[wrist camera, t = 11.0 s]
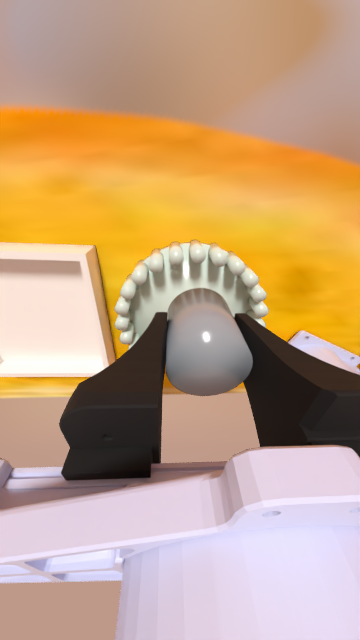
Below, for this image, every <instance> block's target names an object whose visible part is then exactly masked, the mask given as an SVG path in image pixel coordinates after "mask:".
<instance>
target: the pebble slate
mask: <svg viewBox="0 0 360 640" xmlns="http://www.w3.org/2000/svg"><path fill="white" fill-rule="evenodd" d="M252 364H253V358H252V354H251V352H250V350H249V348H248V346H247V344H246V342H245V340H244V338H243V335H242V333H241V331H240V329H239V327H238V325H237V323H236V321H235V319H234V317H233V315H232V313H231V311H230V309H229V307H228V305H227V303H226V301H225V299H224V298H223V297H222V296H221V295H220V294H219V293H217V292H215V291H213V290H211V289H207V288H193V289H189V290H187V291H184V292H182V293H181V294H179V295H178V296H177V297H176V298H174V300H173V301H172V302H171V304H170V305H169V308H168V311H167V339H166V374H167V377H168V379H169V381H170V382H171V383H172V385H173V386H175V387H176V388H177V389H179V390H180V391H182V392H185V393H188V394H191V395H198V396H210V395H217V394H221V393H224V392H227V391H229V390H231V389H233V388H235V387H237V386H238V385H239V384H241V383H242V382H243V381H244V380H245V379H246V378H247V376H248V375H249V373H250V371H251V369H252Z"/></svg>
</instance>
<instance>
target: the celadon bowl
mask: <svg viewBox="0 0 360 640" xmlns="http://www.w3.org/2000/svg"><path fill="white" fill-rule="evenodd" d="M258 282H259V278H258V276H257V275H256V274H255V273H254V272H253V271H252V270H251V269H250V268H249V267H248V266H247V265H246V264H245V263H243V262H242V261H241V260H240V258H239V257H238V256H237V255H236V254H235V253H234V252H232V251H228V252H227V251H225V250H224V249H221V248H220V247H219V245H218V244H216V243H211V244H206V243H200V242H199V241H198V240H191V241H190V242H187V243H179V242H176V241H175V242H172V243H171V244H170V245H169V246H167V247H164V248H162V249H154V250H153V251H152V253H151V255H150V256H148V257H147V258H146V259H144V260H140V261H138V262H137V265H136V267H135V269H134V271H133V273H132V274H129V275H128V276H127V278H126V280H125V282H124V285H123V287H122V289H121V292H120V294H121V295H120V297H119V300H118V302H117V304H116V306H115V311H116V313H118V314H119V315H118V317H117V320H116V322H115V327H116V328H117V329H118V330H122V333H121V336H120V342H121V343H123V344H129V343H130V345H129V349H130V348H131V347H132V346H133V345H134V344H135V342H136V341H137V340H138V339H139V338H140V337H141V335H142V334H143V333H144V331H145V330H146V329H147V327H148V326H149V324H150V323H151V321H152V319H153V317H154V315H155V313H156V312H167V311H168V308H169V305H170V304H171V302H172V301H173V300H174V298H176V297H177V296H178V295H179V294H181V293H182V292H184V291H187V290H189V289H193V288H207V289H211V290H213V291H215V292H217V293H219V294H220V295H221V296H222V297H223V298H224V299H225V301H226V303H227V305H228V307H229V309H230V311H231V313H232V315H233V317H234V316H235V313H246V314H247V315H249V316H250V317H252V318H253V319H254V320H256V321H257V322H258V323H260V324H261V325H262V326H264V327H266V324H265V323H264V321H263V320H262V318H261V317H264V316H266V315H267V314H268V312H269V309H268V308H267V306H266V305H265V304H264V303H263V300H264V299H265V298H266V292H265V291H264V290H263V289H262V287H261V286H260V285H259V284H258ZM129 349H128V350H129Z"/></svg>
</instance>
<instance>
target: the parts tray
mask: <svg viewBox="0 0 360 640" xmlns="http://www.w3.org/2000/svg"><path fill="white" fill-rule="evenodd" d="M115 361H116V358H115V352H114V347H113V341H112V336H111V330H110V324H109V319H108V313H107V308H106V302H105V296H104V291H103V285H102V280H101V274H100V268H99V263H98V257H97V252H96V246H93V245H64V244H36V243H7V242H0V377H92V376H94V375H95V374H97V373H99V372H100V371H102V370H104V369H105V368H107V367H108V366H109V365H111V364H112V363H114V362H115Z"/></svg>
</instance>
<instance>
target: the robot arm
mask: <svg viewBox="0 0 360 640" xmlns="http://www.w3.org/2000/svg"><path fill="white" fill-rule="evenodd" d="M234 319H235V321H236V323H237V325H238V327H239V329H240V331H241V333H242V335H243V338H244V340H245V342H246V344H247V346H248V348H249V350H250V352H251V354H252V358H253V364H252V369H251V371H250V373H249V375H248V376H247V378H246V379H245V380H244V381H243V382H244V385H245V388H246V391H247V394H248V398H249V401H250V405H251V409H252V413H253V417H254V421H255V424H256V429H257V434H258V439H259V443H260V447H259V448H252V449H247V450H245V451H242V452H239V453H237V454H235V455H233V457H231V459H230V460H229V461H224V462H192V463H163V464H162V463H161V425H162V391H163V381H164V373H165V365H166V339H167V312H156V313H155V315H154V317H153V319H152V321H151V323H150V324H149V326H148V327H147V329H146V330H145V331H144V333H143V334H142V335H141V337H140V338H139V339H138V340H137V341H136V342H135V344H134V345H133V346H132V347H131V348H130V349H129V350H128V351H127V352H126V353H124V354H123V355H122V356H121V357H120V358H119V359H117V360H116V361H115V362H114V363H112V364H111V365H109V366H108V367H107V368H105V369H104V370H102V371H100V372H99V373H97V374H95V375H94V376H92V377H90V378H88V379H87V380H85V381H83V382H81V383H79V385H78V386H77V388H76V389H75V391H74V393H73V394H72V396H71V398H70V399H69V402H68V404H67V406H66V408H65V410H64V412H63V414H62V417H61V419H60V423H59V425H60V429H61V431H62V433H63V435H64V437H65V439H66V441H67V443H68V444H69V446H70V450H69V452H68V455H67V458H66V460H65V463H64V466H62V467H29V468H12V466H11V465H10V463H9V462H8V461H7V460H5V459H2V458H0V583H31V582H81V581H122V584H121V592H120V601H119V609H118V618H117V626H116V634H115V640H360V369H359V368H358V367H357V365H358V364H359V363H360V357H359V356H357V355H355V354H353V353H351V352H349V351H347V350H345V349H342V348H340V347H338V346H336V345H334V344H332V343H330V342H327V341H325V340H323V339H321V338H319V337H317V336H314V335H312V334H310V333H308V332H306V331H299V332H298V333H297V334H296V335H295V336H294V337H293V338H292V339H291V340H290V341H289V342H288V343H287V342H286V341H284V340H283V339H281V338H280V337H278V336H276V335H275V334H274V333H272V332H271V331H269V330H268V329H266V328H265V327H264V326H262V325H261V324H260V323H258V322H257V321H256V320H254V319H253V318H252V317H250V316H249V315H247V314H246V313H235V316H234ZM304 337H305V338H304Z"/></svg>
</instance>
